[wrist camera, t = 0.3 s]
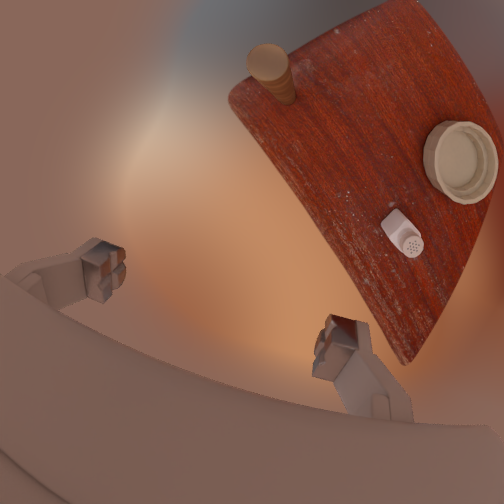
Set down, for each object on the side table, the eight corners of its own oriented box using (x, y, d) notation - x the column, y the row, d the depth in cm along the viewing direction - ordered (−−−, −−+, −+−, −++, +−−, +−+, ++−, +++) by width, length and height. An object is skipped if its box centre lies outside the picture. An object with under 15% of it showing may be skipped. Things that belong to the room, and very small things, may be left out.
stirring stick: (278, 87, 38) (248, 41, 15) (296, 89, 38) (291, 45, 14) (276, 103, 39) (243, 79, 16) (294, 106, 39) (286, 83, 16)
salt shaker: (410, 222, 43) (431, 246, 34) (393, 239, 45) (411, 266, 36) (395, 205, 42) (415, 226, 34) (378, 223, 44) (394, 247, 36)
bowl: (428, 109, 35) (442, 109, 30) (487, 135, 34) (504, 138, 29) (414, 185, 40) (425, 192, 36) (473, 203, 39) (487, 212, 35)
